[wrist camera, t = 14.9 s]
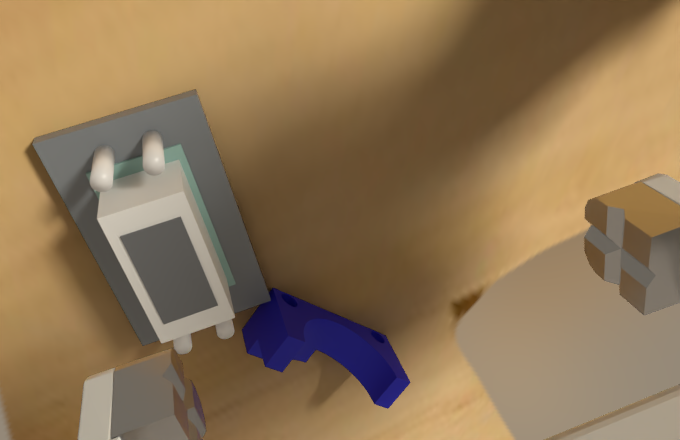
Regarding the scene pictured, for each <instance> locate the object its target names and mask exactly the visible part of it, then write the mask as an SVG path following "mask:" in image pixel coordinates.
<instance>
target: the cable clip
mask: <svg viewBox="0 0 680 440" xmlns="http://www.w3.org/2000/svg"><path fill="white" fill-rule="evenodd" d="M269 295H270V299H271V301H268V302H266V303H263V304H260V306H259V307H258V308H257V310H256V311H255V313H254V314H253V315H252V317H251V318H250V319H249V321H248V322H247V323H246V325H245V326H244V327H243V329H242V332H243V337H244V341H245V346H246V350H247V353H248V354H251V355H254V356H256V357H259V358H262V359H263V361H264V365H265V367H268V368H271V369H274V370H277V371H280V372H283V371H284V369H285V368H286V367H287V366H288V364H289V363H290V362H291V360H299V361H302V362H305V363H306V361H307V360H308V359H309V358H310V356H311V355H312V354H313V353H314V351H315V350H318V351H320V352H323V353H325V354H326V355H328V356H330V357H332V358H333V359H335V360H336V361H338V362H339V363H340V364H342V365H343V366H344V367H345V368H347V369H348V370H349V371H350V372H351V373H352V374H353V375H354V376H355V377H356V378H357V379H358V380H359V381H360V383H361V384H362V385H363V386H364V388H365V389H366V390H367V392H368V393H369V395H370V397H371V398H372V400H373V402H374V404H376V405H379V406H382V407H385V408H387V409H388V408H389V407H390V406H391V405H392V403H393V402H394V401H395V400H396V399H397V398H398V396H399V395H400V394H401V393H402V392H403V391H404V389H405V388H406V387H407V386H408V385H409V384H410V381H409V379H408V377H407V375H406V373H405V371H404V369H403V368H402V366H401V364H400V362H399V360H398V358H397V356H396V354H395V352H394V351H393V349H392V347H391V345H390V343H389V341H388V339H387V337H386V335H383V334H381V333H378V332H376V331H374V330H371V329H369V328H367V327H364V326H362V325H360V324H357V323H355V322H353V321H350V320H348V319H346V318H343V317H341V316H338V315H336V314H334V313H331V312H329V311H327V310H324V309H322V308H320V307H317V306H315V305H313V304H310V303H308V302H306V301H303V300H301V299H299V298H296V297H294V296H291V295H289V294H287V293H284V292H282V291H280V290H277V289H275V288H272V289H271V291H270V292H269Z"/></svg>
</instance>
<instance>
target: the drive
mask: <svg viewBox="0 0 680 440" xmlns="http://www.w3.org/2000/svg"><path fill="white" fill-rule="evenodd" d="M97 220H98V222H99V224H100V226H101V228H102V230H103V232H104V234H105V235H106V237H107V239H108V241H109V243H110V245H111V247H112V249H113V251H114V253H115V255H116V257H117V259H118V261H119V263H120V264H121V266H122V268H123V270H124V272H125V274H126V276H127V278H128V280H129V282H130V284H131V286H132V288H133V290H134V292H135V293H136V295H137V297H138V299H139V301H140V303H141V305H142V307H143V309H144V311H145V313H146V315H147V317H148V319H149V321H150V322H151V324H152V326H153V328H154V330H155V332H156V334H157V336H158V338H159V340H160V342H161V344H162V343H165V342H168V341H171V340H174V339H176V338H179V337H182V336H185V335H188V334H191V333H193V332H196V331H199V330H202V329H205V328H208V327H210V326H213V325H216V324H219V323H222V322H225V321H227V320H230V319H233V318H235V314H234V310H233V305H232V301H231V296H230V291H229V287H228V282H227V278H226V276H225V273H224V271H223V268H222V266H221V263H220V261H219V258H218V256H217V253H216V251H215V248H214V246H213V243H212V241H211V238H210V236H209V233H208V231H207V228H206V226H205V223H204V221H203V218H202V216H201V213H200V211H199V208H198V206H197V203H196V201H195V198H194V196H193V193H192V191H191V188H190V186H189V183H188V181H187V178H186V176H185V173H184V171H183V168H182V166H181V163H180V161H179V160H176V161H173V162H169V163H166V164H165V169H164V171H163V172H162V173H161V174H159V175H155V176H153V175H149V174H147V173H146V172H145V171H141V172H137V173H134V174H131V175H128V176H125V177H122V178H118V179H115V180H113V185H112V187H111V189H110V190H108V191H106V192H100V197H99V205H98V214H97Z"/></svg>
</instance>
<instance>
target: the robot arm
mask: <svg viewBox="0 0 680 440" xmlns="http://www.w3.org/2000/svg"><path fill="white" fill-rule="evenodd" d="M585 219H586V220H587V221H588V222H589V223H590V224H591V227H590V228H589V230H588V232H587V233H586V235H585V237H584V249H585V250H584V251H585V254H586V256H587V259H588V261H589V264H590V266H591V267H592V268H593V270H594V271H595V273H596V274H597V275H598V276H600V277H601V278H602V279H603V280H604V281H607V282H611V283H614V284H618V285H619V292H620V295H621V296H622V297H623V298H624V299H626V300H627V301H628V302H629V303H630V304H631V305H632V306H634V307H635V308H636V309H637V310H638V311H639V312H641V313H642V314H643V315H647V314H650V313H652V312H655V311H658V310H661V309H664V308H666V307H669V306H672V305H674V304H678V303H680V182H678V181H677V180H675V179H673V178H671V177H670V176H668V175H665V174H656V175H653V176H650V177H648V178H645V179H642V180H640V181H637V182H635V183H634V184H631V185H628V186H625V187H623V188H620V189H617V190H614V191H612V192H609V193H606V194H603V195H601V196H598V197H595V198H592V199H590V200H588V202H587V204H586V207H585ZM205 432H206V425H205V418H204V414H203V410H202V406H201V402H200V399H199V397H198V394H197V391H196V389H195V387H194V385H193V383H192V381H191V380H189V379H187V378H185V377H184V372H183V363H182V361H181V359H180V357H179V356H178V354H177V352H176V350H174V349H173V348H170V349H167V350H164V351H161V352H158V353H155V354H152V355H149V356H146V357H143V358H140V359H137V360H134V361H131V362H128V363H125V364H122V365H119V366H117V367H116V368H112V369H109V370H106V371H103V372H100V373H97V374H94V375H91V376H88V377H87V379H86V380H85V382H84V385H83V394H82V403H81V413H80V422H79V431H78V440H203V439H202V438H203V436H204V434H205ZM545 440H680V384H679V385H676V386H674V387H671V388H669V389H666V390H664V391H661V392H659V393H657V394H655V395H652V396H649V397H647V398H644V399H642V400H640V401H637V402H635V403H632V404H630V405H627V406H625V407H623V408H620V409H618V410H615V411H613V412H610V413H608V414H605V415H603V416H601V417H598V418H596V419H594V420H591V421H589V422H586V423H583V424H581V425H579V426H576V427H574V428H571V429H569V430H566V431H564V432H562V433H559V434H557V435H554V436H552V437H549V438H547V439H545Z"/></svg>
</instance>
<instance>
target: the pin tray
mask: <svg viewBox="0 0 680 440" xmlns="http://www.w3.org/2000/svg"><path fill="white" fill-rule="evenodd" d="M32 145H33V146H34V148H35V150H36V152H37V154H38V156H39V157H40V159H41V161H42V163H43V165H44V166H45V168H46V170H47V172H48V174H49V176H50V177H51V179H52V181H53V183H54V185H55V187H56V188H57V190H58V192H59V194H60V196H61V198H62V199H63V201H64V203H65V205H66V207H67V208H68V210H69V212H70V214H71V216H72V218H73V219H74V221H75V223H76V225H77V227H78V229H79V230H80V232H81V234H82V236H83V238H84V240H85V241H86V243H87V245H88V247H89V249H90V250H91V252H92V254H93V256H94V258H95V260H96V261H97V263H98V265H99V267H100V269H101V271H102V272H103V274H104V276H105V278H106V280H107V282H108V283H109V285H110V287H111V289H112V291H113V292H114V294H115V296H116V298H117V300H118V302H119V303H120V305H121V307H122V309H123V311H124V313H125V314H126V316H127V318H128V320H129V322H130V324H131V325H132V327H133V329H134V331H135V333H136V334H137V336H138V338H139V340H140V342H141V344H142V345H143V346H144V345H147V344H150V343H153V342H156V341H158V340H159V338H158V336H157V334H156V332H155V330H154V328H153V326H152V324H151V322H150V321H149V319H148V317H147V315H146V313H145V311H144V309H143V307H142V305H141V303H140V301H139V299H138V297H137V295H136V293H135V292H134V290H133V288H132V286H131V284H130V282H129V280H128V278H127V276H126V274H125V272H124V270H123V268H122V266H121V264H120V263H119V261H118V259H117V257H116V255H115V253H114V251H113V249H112V247H111V245H110V243H109V241H108V239H107V237H106V235H105V234H104V232H103V230H102V228H101V226H100V224H99V222H98V220H97V214H98V205H99V197H100V192H106V191H108V190H110V189H111V187H112V185H113V180H115V179H118V178H122V177H125V176H128V175H131V174H134V173H137V172H141V171H145V172H146V173H147V174H149V175H153V176H155V175H159V174H161V173H162V172H163V171H164V169H165V164H166V163H169V162H173V161H176V160H179V161H180V163H181V166H182V168H183V171H184V173H185V176H186V178H187V181H188V183H189V186H190V188H191V191H192V193H193V196H194V198H195V201H196V203H197V206H198V208H199V211H200V213H201V216H202V218H203V221H204V223H205V226H206V228H207V231H208V233H209V236H210V238H211V241H212V243H213V246H214V248H215V251H216V253H217V256H218V258H219V261H220V263H221V266H222V268H223V271H224V273H225V276H226V278H227V282H228V287H229V291H230V296H231V301H232V305H233V310H234V314H235V313H237V312H240V311H243V310H246V309H249V308H252V307H254V306H257V305H260V304H263V303H266V302H268V301H271V299H270V295H269V292H268V289H267V287H266V284H265V281H264V278H263V275H262V273H261V270H260V267H259V264H258V261H257V259H256V256H255V253H254V250H253V248H252V245H251V242H250V239H249V236H248V234H247V231H246V228H245V225H244V222H243V220H242V217H241V214H240V211H239V209H238V206H237V203H236V200H235V197H234V195H233V192H232V189H231V186H230V183H229V181H228V178H227V175H226V172H225V169H224V167H223V164H222V161H221V158H220V156H219V153H218V150H217V147H216V144H215V142H214V139H213V136H212V133H211V130H210V128H209V125H208V122H207V119H206V116H205V114H204V111H203V108H202V105H201V103H200V100H199V97H198V94H197V91H196V89H195V90H192V91H188V92H185V93H182V94H178V95H175V96H172V97H168V98H165V99H162V100H159V101H155V102H152V103H149V104H145V105H142V106H139V107H135V108H132V109H129V110H125V111H122V112H119V113H115V114H112V115H109V116H106V117H102V118H99V119H96V120H92V121H89V122H86V123H82V124H79V125H76V126H72V127H69V128H66V129H62V130H59V131H56V132H52V133H49V134H46V135H43V136H39V137H36V138H34V141H33V144H32ZM215 326H216V331H217V336H218V337H219V338H221V339H228V338H230V337H232V336H233V335H234V332H235V330H234V325H233V321H232V319H230V320H227V321H225V322H222V323H219V324H216V325H215ZM173 342H174V350H176V352H177V353H178V354H186V353H188V352H190V351H191V349H192V340H191V334H188V335H185V336H182V337H179V338H176V339H174V340H173Z"/></svg>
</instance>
